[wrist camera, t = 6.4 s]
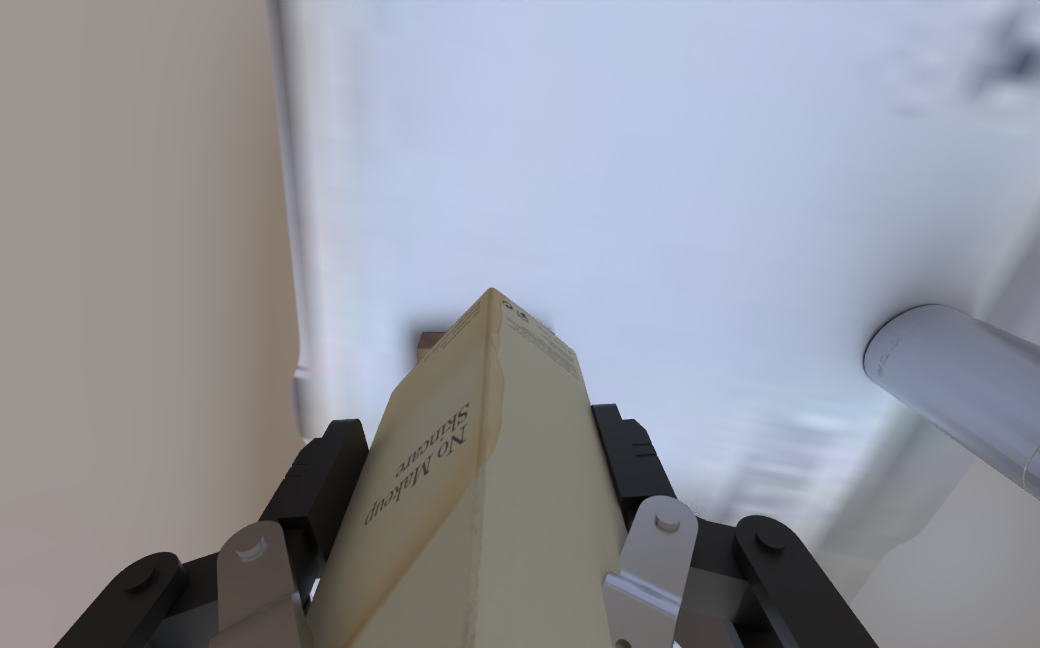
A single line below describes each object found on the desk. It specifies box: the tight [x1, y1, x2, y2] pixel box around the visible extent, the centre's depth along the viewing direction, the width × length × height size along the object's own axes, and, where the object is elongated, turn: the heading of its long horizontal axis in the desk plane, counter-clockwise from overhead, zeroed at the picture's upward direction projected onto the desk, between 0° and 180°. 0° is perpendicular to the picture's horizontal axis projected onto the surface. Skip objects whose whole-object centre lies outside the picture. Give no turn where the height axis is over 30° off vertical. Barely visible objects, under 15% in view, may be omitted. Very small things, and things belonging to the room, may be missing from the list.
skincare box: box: [306, 288, 628, 648], centre depth 11 cm, size 6×4×12 cm
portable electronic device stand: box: [674, 608, 734, 648], centre depth 54 cm, size 23×23×9 cm
